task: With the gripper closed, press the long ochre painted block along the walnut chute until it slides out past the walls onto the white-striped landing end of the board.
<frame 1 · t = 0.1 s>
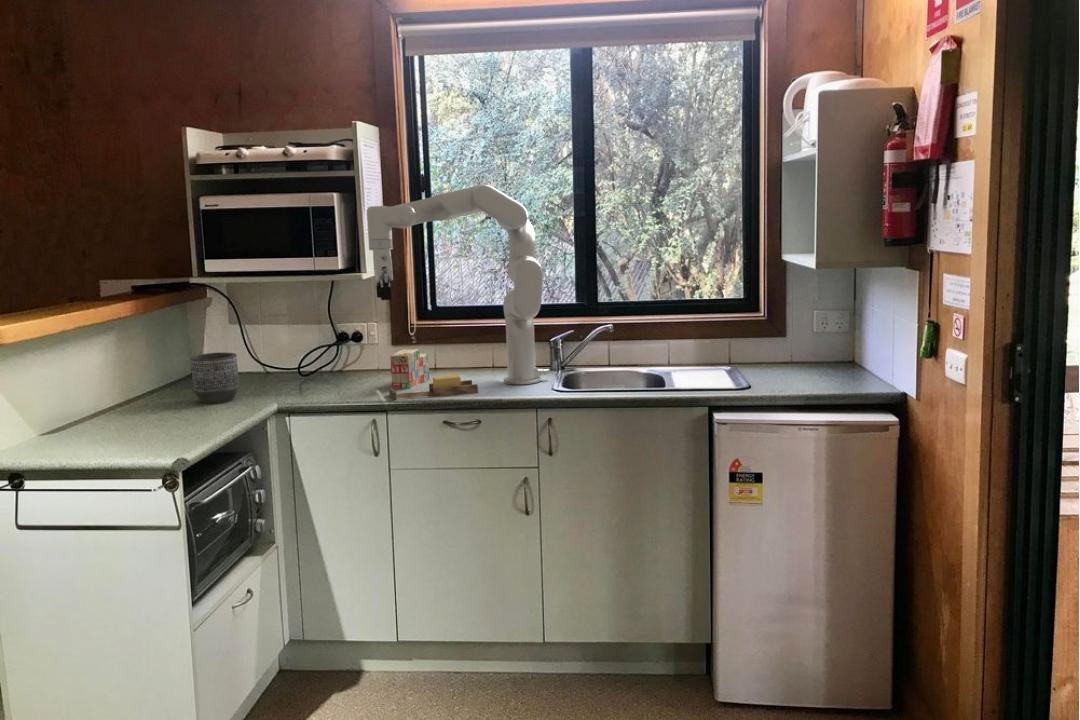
hand: (384, 298, 304), 31 cm above the counter, fingers open, 9 cm apart
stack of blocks: (411, 386, 323), on the counter
block: (447, 392, 303), point 1 cm above the counter, touching chute board
chute board: (433, 396, 302), on the counter
planter: (217, 401, 308), on the counter
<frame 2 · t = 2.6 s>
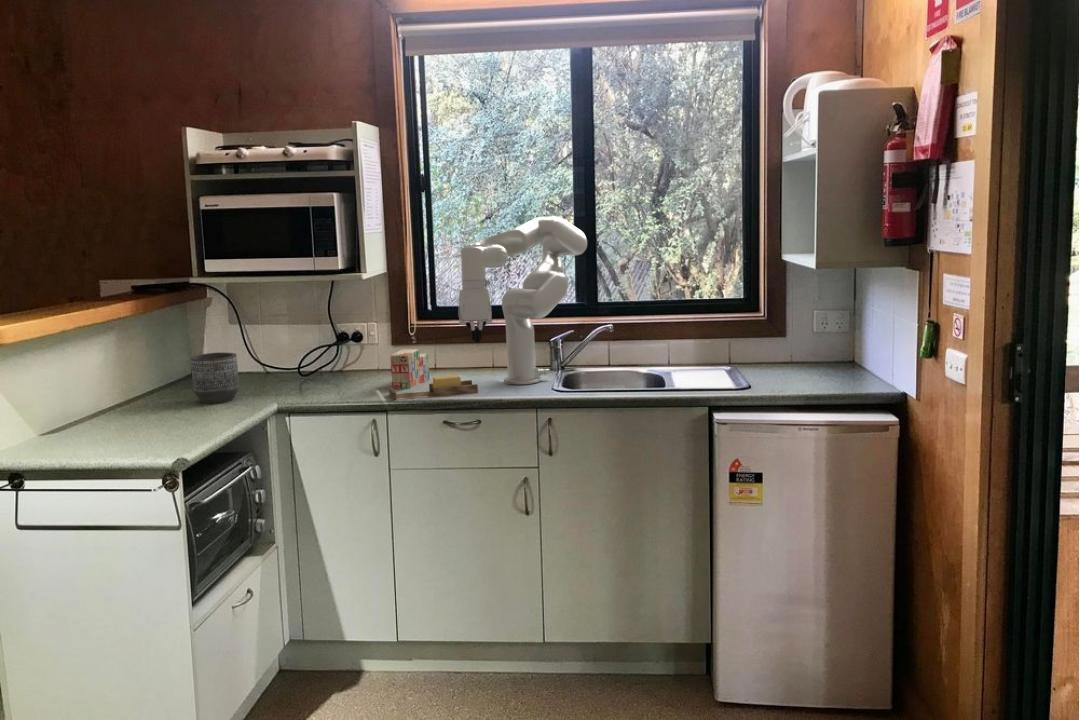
hand: (476, 342, 304), 16 cm above the counter, fingers closed
nothing on the counter moved.
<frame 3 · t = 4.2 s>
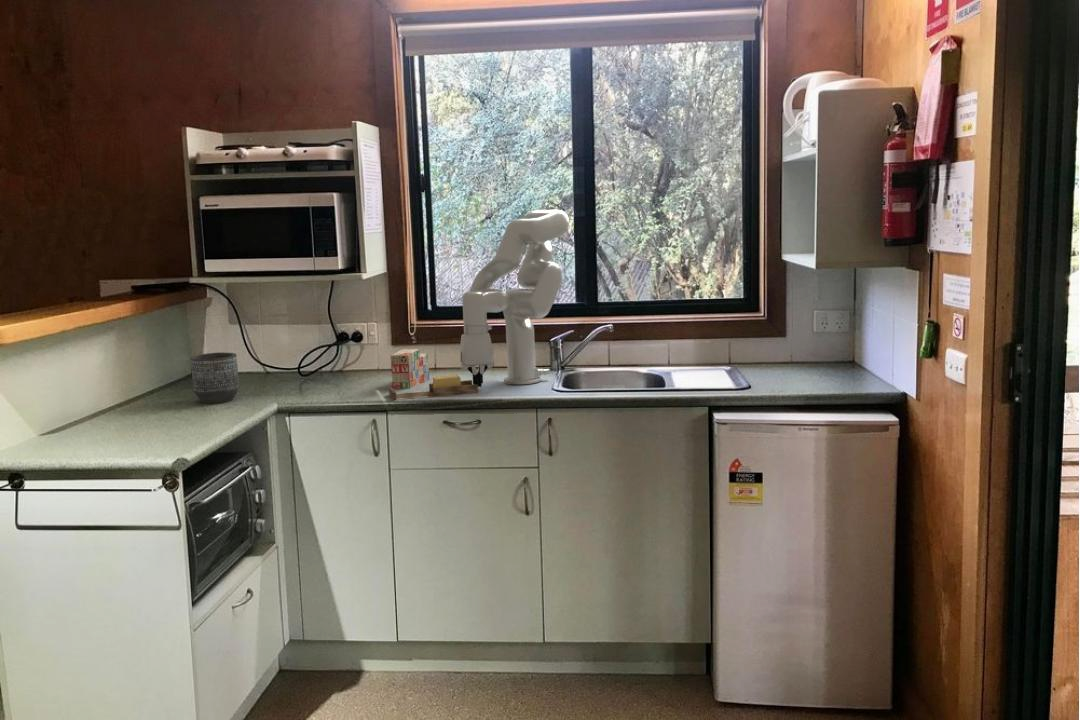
hand: (478, 386, 306), 2 cm above the counter, fingers closed
nothing on the counter moved.
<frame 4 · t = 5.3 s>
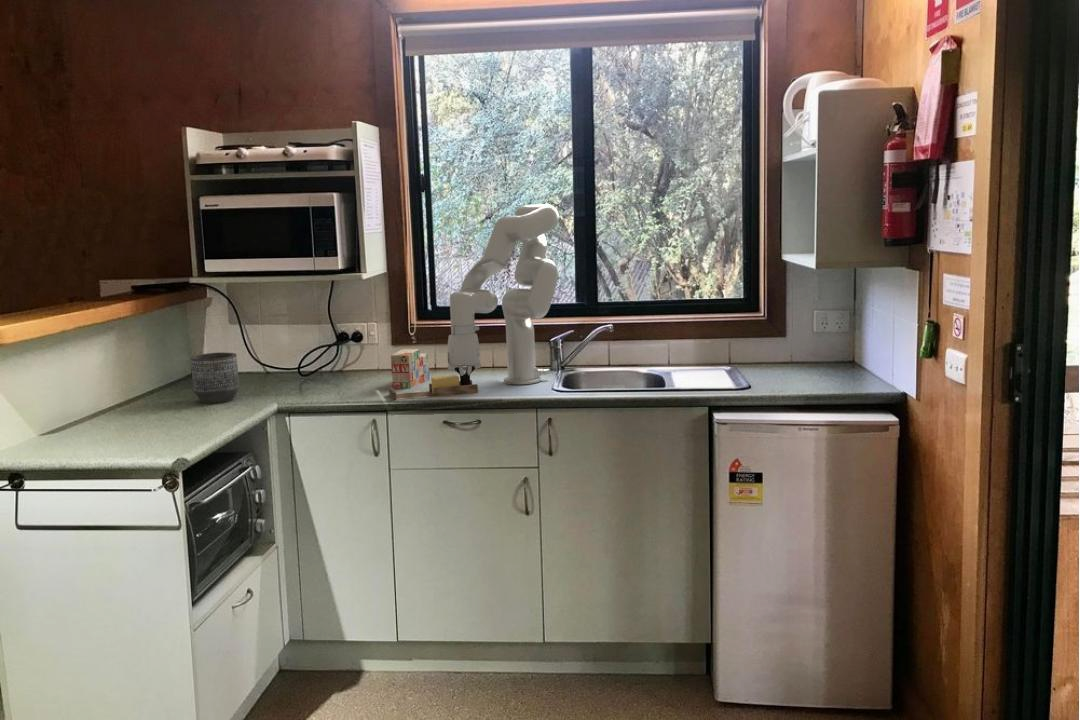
hand: (465, 386, 305), 2 cm above the counter, fingers closed
block: (445, 392, 303), point 1 cm above the counter, touching gripper
everything else where it was.
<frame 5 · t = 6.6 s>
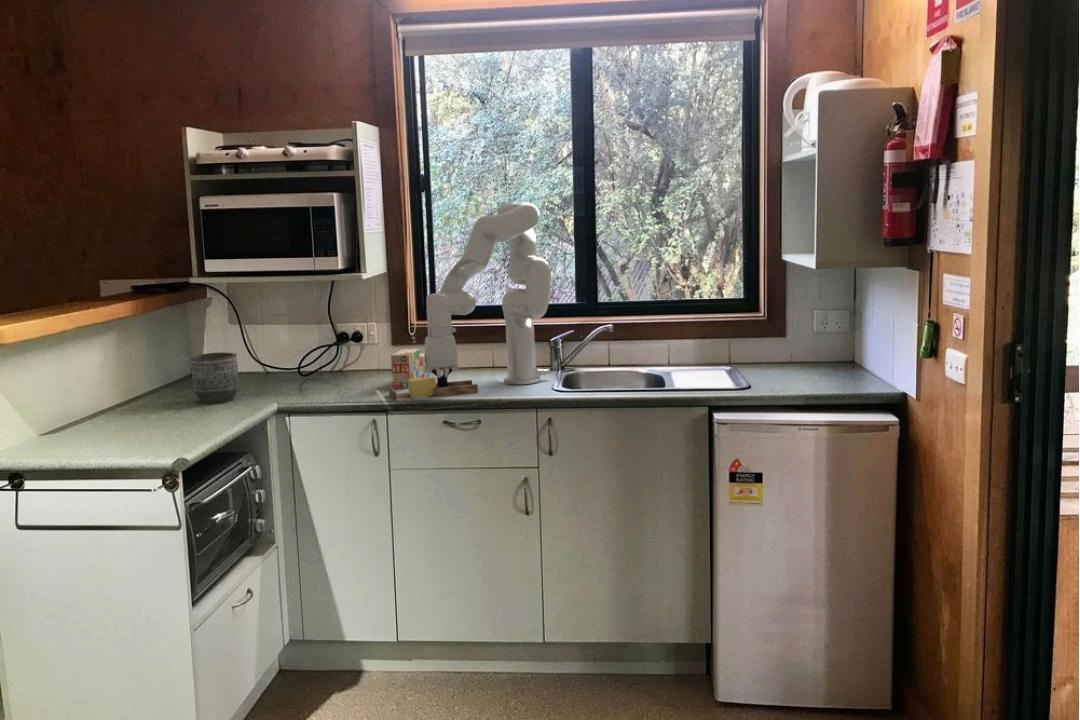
hand: (442, 389, 303), 2 cm above the counter, fingers closed
block: (422, 394, 301), point 1 cm above the counter, touching chute board, gripper
everything else where it was.
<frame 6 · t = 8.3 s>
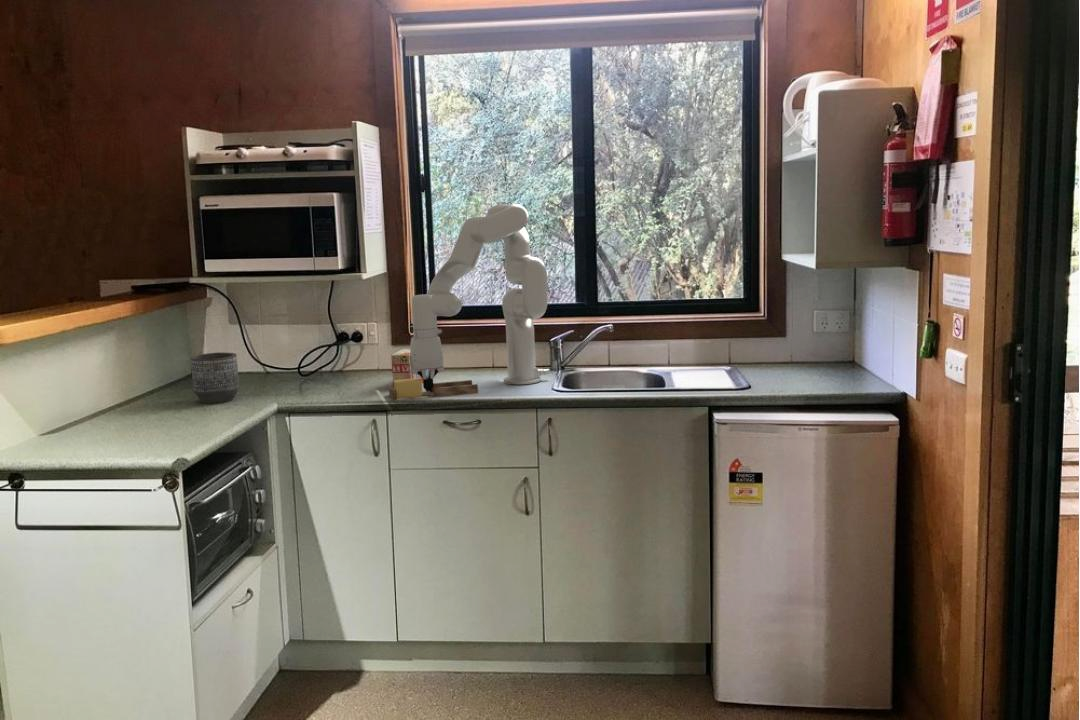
hand: (428, 390, 302), 2 cm above the counter, fingers closed
block: (408, 396, 300), point 1 cm above the counter, touching chute board, gripper
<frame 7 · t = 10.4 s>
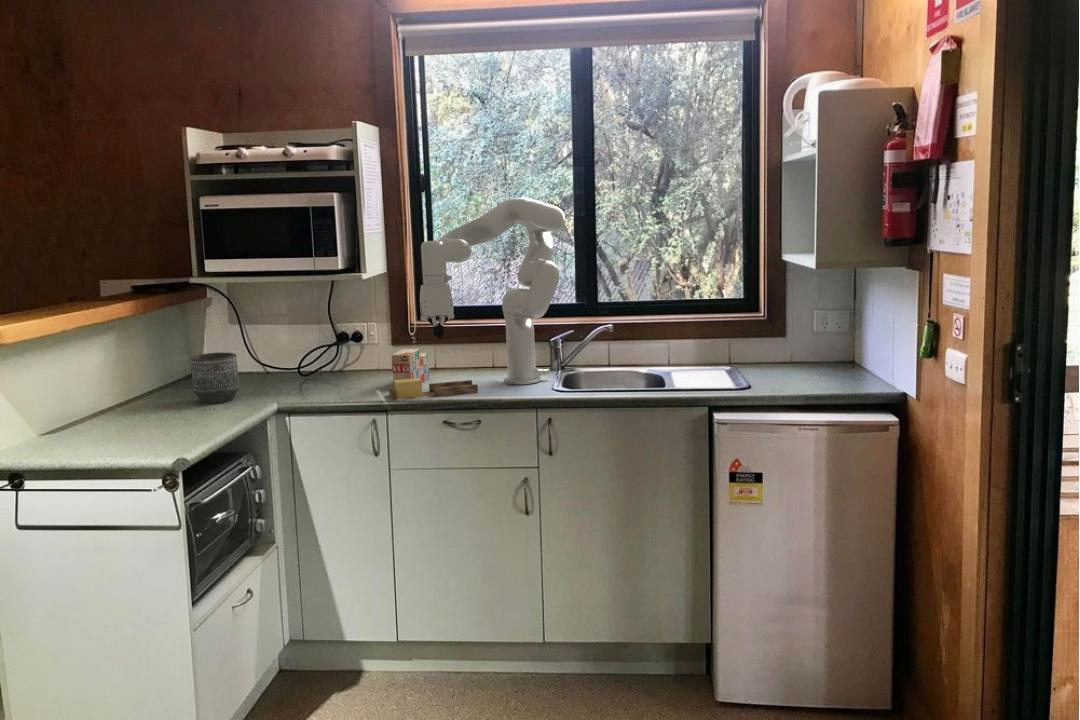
hand: (438, 337, 300), 19 cm above the counter, fingers closed
block: (408, 396, 300), point 1 cm above the counter, touching chute board
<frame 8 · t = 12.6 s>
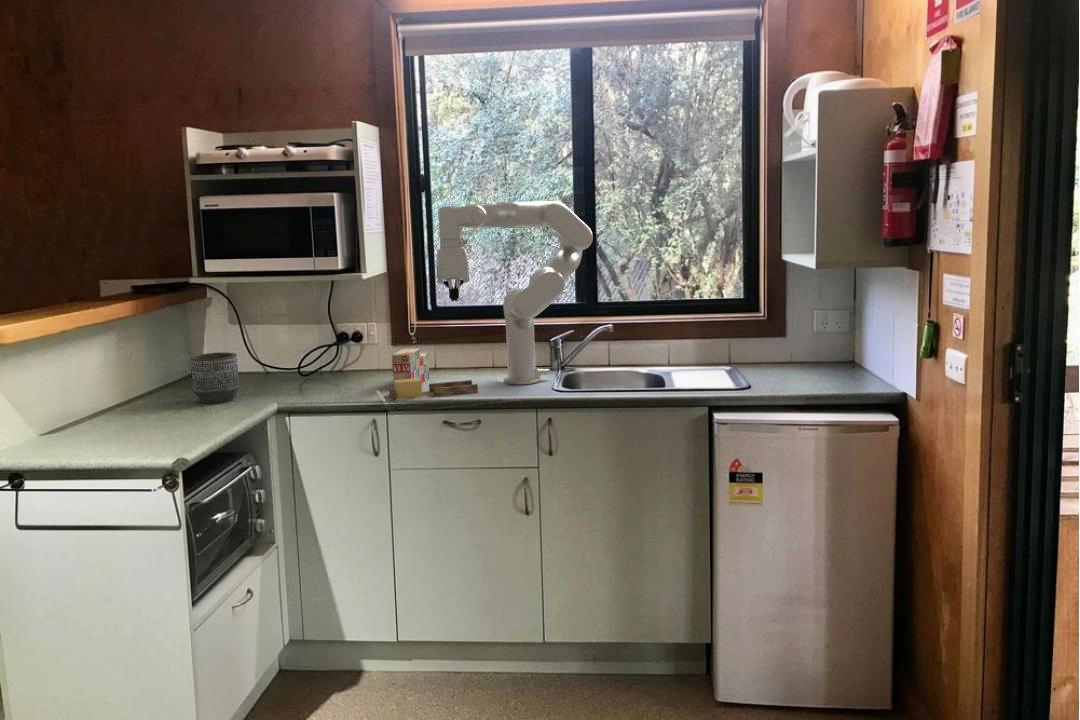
hand: (454, 300, 311), 29 cm above the counter, fingers closed
at the end: block inside the target area (0.4 cm from its centre), point 0.8 cm above the counter; block tilted 0° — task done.
